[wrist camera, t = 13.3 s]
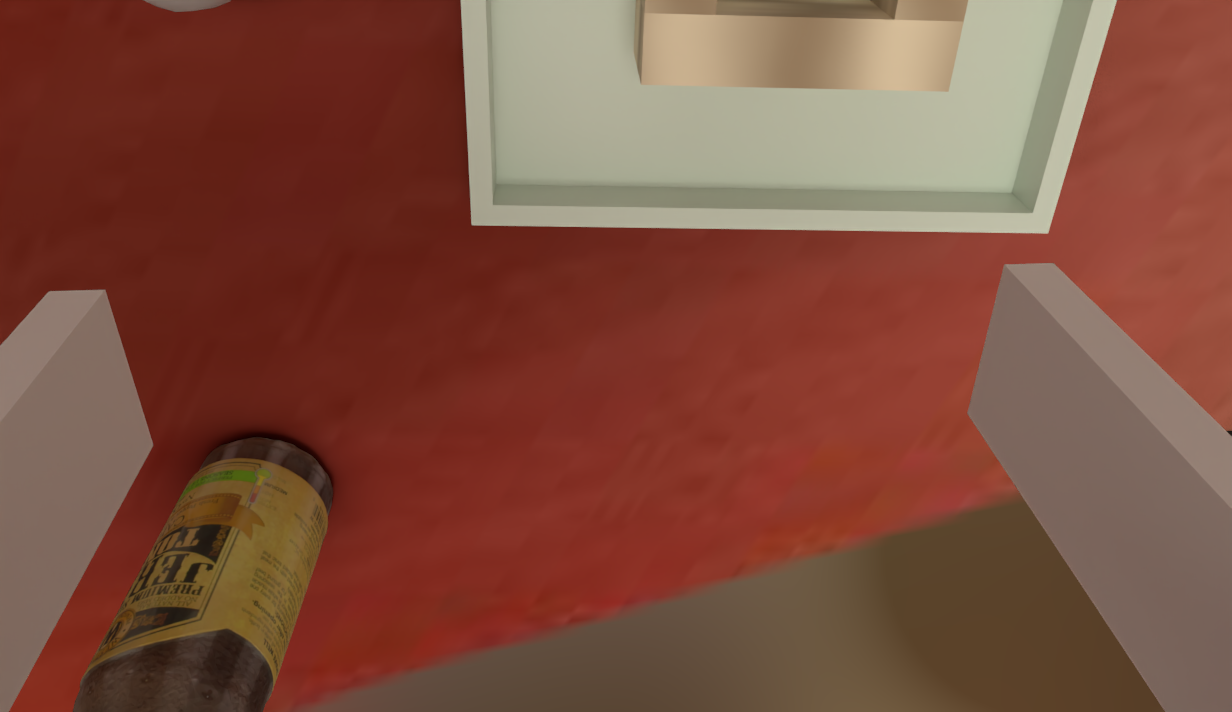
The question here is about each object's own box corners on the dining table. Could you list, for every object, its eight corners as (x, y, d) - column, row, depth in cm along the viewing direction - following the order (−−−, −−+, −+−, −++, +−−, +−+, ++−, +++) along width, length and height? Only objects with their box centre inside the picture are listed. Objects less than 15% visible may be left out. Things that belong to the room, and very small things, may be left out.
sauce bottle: (261, 403, 42) (54, 840, 25) (365, 489, 45) (243, 934, 28) (165, 478, 44) (-87, 930, 27) (271, 555, 46) (103, 1009, 30)
